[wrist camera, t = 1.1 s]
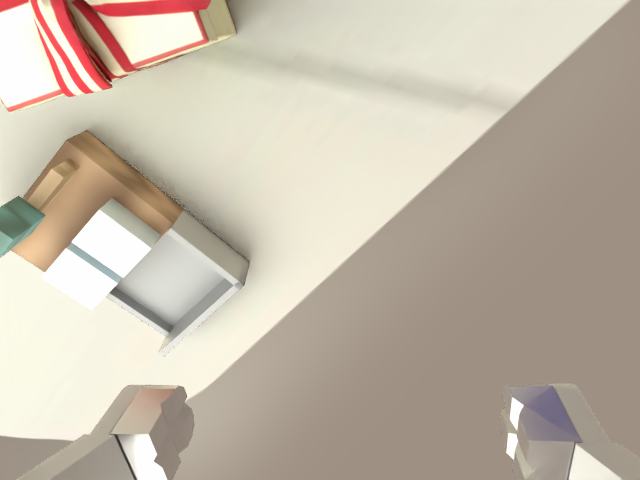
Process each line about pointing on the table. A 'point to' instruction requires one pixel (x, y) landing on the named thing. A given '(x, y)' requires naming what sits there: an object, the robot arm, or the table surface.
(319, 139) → the table surface
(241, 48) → the table surface
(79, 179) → the tan wooden board
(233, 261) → the tray
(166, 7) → the gift box
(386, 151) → the table surface
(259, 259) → the table surface
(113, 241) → the tile near
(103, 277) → the tile far
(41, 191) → the teal-headed mallet
